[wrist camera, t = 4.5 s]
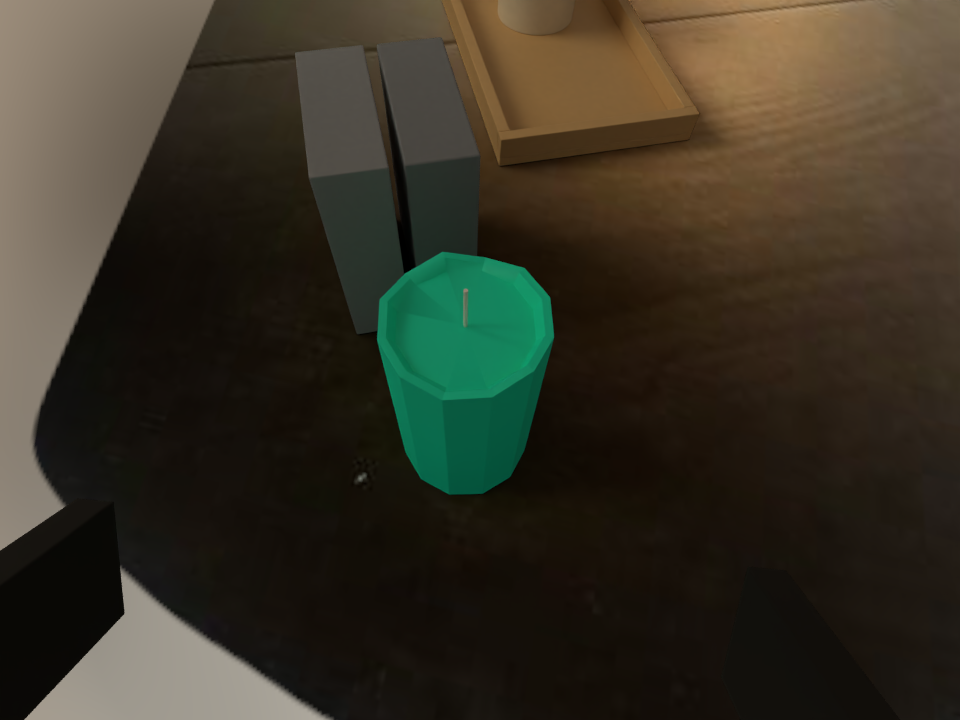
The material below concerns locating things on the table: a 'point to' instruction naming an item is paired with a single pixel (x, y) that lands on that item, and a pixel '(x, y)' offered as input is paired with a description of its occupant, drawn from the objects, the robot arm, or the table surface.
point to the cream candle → (536, 15)
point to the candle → (465, 366)
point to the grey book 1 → (350, 176)
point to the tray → (570, 82)
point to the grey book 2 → (430, 150)
